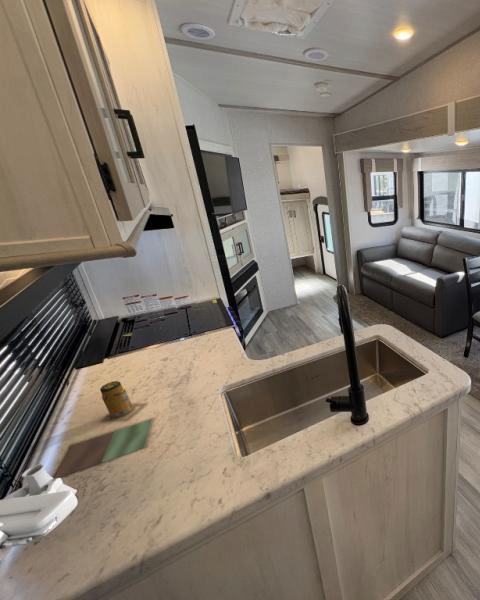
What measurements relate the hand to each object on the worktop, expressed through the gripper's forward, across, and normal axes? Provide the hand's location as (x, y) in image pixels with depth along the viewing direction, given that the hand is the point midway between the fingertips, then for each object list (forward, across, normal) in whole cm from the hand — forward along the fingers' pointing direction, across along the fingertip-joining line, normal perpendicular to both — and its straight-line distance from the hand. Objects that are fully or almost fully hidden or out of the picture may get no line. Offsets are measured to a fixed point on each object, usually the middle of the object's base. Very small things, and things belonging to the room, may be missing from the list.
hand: (46, 481), depth 67 cm
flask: (-1, 0, +6) cm, 6 cm away
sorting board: (+24, +9, +14) cm, 30 cm away
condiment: (+40, +15, +14) cm, 45 cm away
